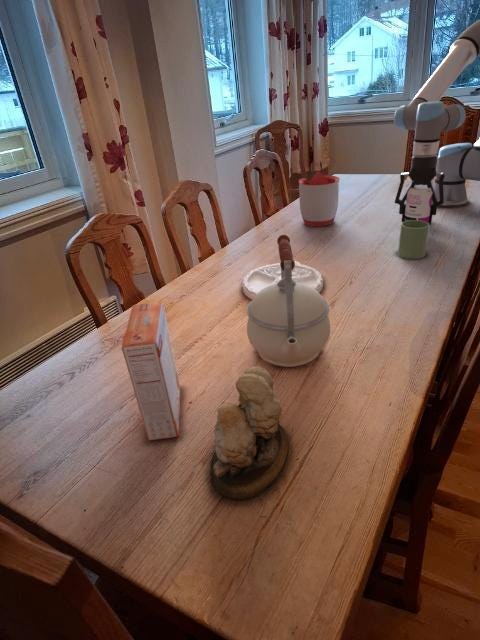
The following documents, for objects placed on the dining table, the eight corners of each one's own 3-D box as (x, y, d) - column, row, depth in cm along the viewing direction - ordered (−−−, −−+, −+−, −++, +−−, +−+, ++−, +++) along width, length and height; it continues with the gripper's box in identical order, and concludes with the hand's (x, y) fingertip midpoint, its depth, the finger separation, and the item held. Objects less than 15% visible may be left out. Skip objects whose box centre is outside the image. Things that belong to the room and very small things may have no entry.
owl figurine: (240, 413, 81) (231, 337, 72) (300, 427, 76) (299, 348, 68) (195, 489, 67) (177, 406, 58) (266, 512, 62) (258, 426, 54)
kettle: (249, 326, 108) (240, 231, 95) (322, 322, 107) (323, 225, 94) (248, 391, 86) (236, 278, 74) (340, 386, 85) (344, 271, 73)
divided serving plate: (231, 300, 121) (230, 293, 120) (260, 263, 142) (259, 256, 141) (313, 308, 113) (313, 300, 112) (331, 267, 135) (331, 260, 133)
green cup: (408, 247, 143) (412, 218, 138) (430, 254, 137) (435, 223, 132) (392, 254, 139) (395, 224, 134) (414, 261, 133) (418, 230, 128)
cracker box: (152, 392, 89) (131, 303, 78) (181, 388, 89) (164, 299, 78) (145, 442, 76) (119, 345, 66) (179, 438, 77) (158, 340, 66)
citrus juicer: (324, 213, 183) (325, 164, 173) (345, 224, 169) (347, 171, 159) (291, 219, 180) (289, 170, 170) (309, 231, 165) (309, 178, 155)
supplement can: (427, 226, 153) (433, 183, 146) (428, 234, 147) (434, 189, 139) (403, 225, 156) (407, 183, 148) (402, 233, 149) (407, 189, 142)
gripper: (389, 158, 140) (383, 225, 151) (461, 156, 132) (449, 228, 143) (391, 153, 145) (385, 219, 157) (460, 152, 138) (448, 221, 149)
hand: (416, 223), depth 150 cm, fingers closed on supplement can, 8 cm apart
